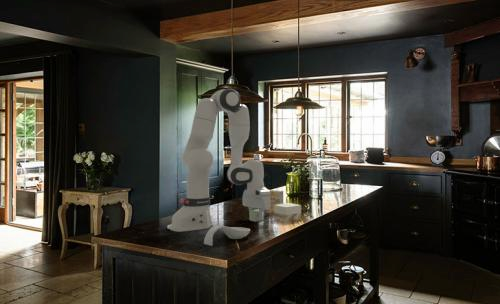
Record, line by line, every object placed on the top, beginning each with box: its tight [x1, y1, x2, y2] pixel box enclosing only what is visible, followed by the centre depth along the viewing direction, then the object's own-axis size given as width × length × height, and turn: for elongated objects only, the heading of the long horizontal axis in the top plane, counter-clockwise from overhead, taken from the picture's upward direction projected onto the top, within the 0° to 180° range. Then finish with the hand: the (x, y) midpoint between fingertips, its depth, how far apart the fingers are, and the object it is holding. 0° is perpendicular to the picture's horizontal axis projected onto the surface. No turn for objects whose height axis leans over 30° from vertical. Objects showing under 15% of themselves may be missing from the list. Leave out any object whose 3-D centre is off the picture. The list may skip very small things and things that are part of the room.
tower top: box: [274, 202, 302, 215], centre depth 219 cm, size 10×10×4 cm
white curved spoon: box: [203, 224, 251, 247], centre depth 178 cm, size 24×12×7 cm, turn 140°
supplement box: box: [267, 189, 284, 215], centre depth 236 cm, size 8×5×13 cm, turn 62°
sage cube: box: [248, 209, 264, 222], centre depth 218 cm, size 5×5×5 cm
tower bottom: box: [273, 212, 302, 223], centre depth 220 cm, size 10×10×4 cm
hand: (256, 216), depth 218 cm, fingers closed on sage cube, 5 cm apart
